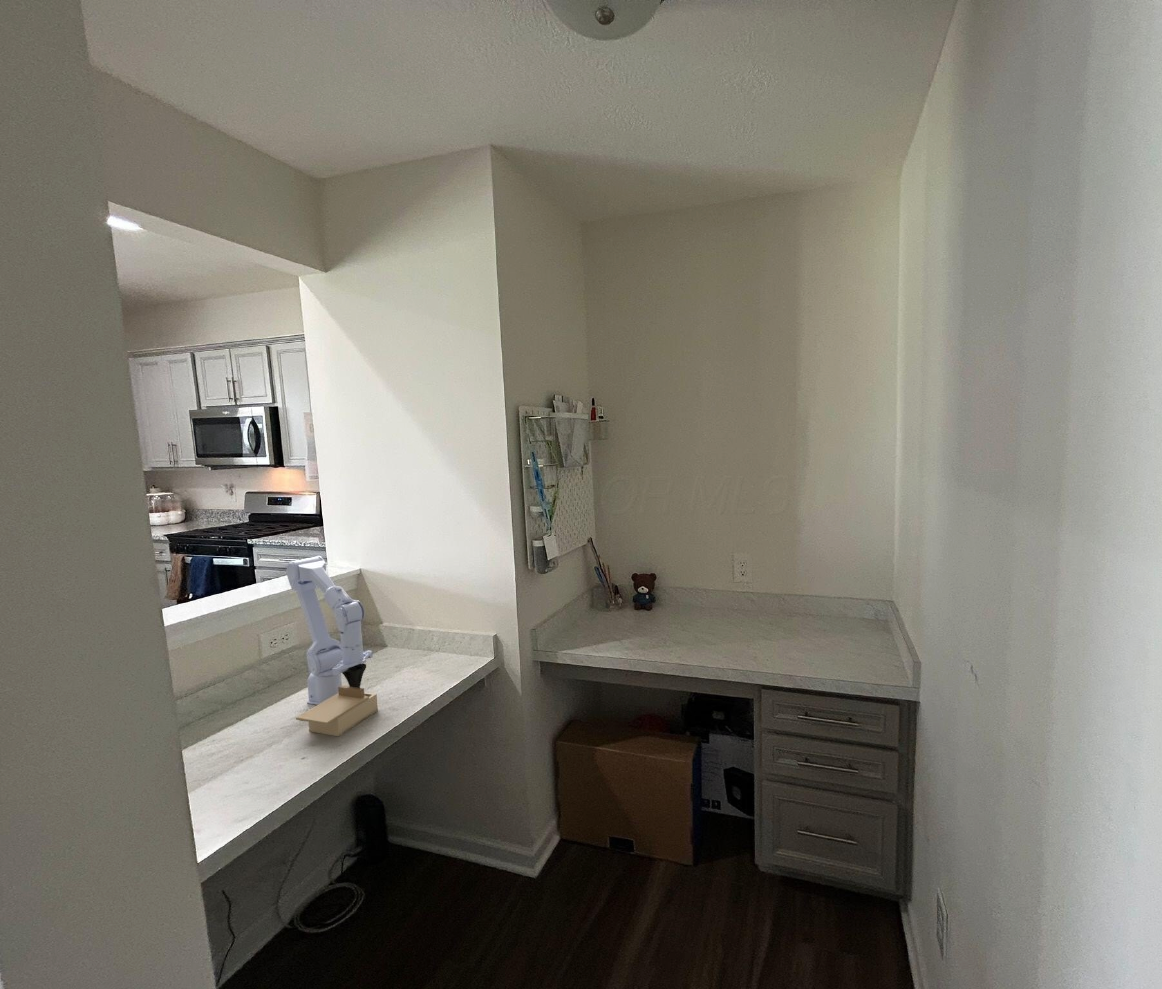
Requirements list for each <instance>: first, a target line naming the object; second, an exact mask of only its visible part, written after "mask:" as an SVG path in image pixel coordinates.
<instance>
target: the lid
mask: <svg viewBox="0 0 1162 989" xmlns="http://www.w3.org/2000/svg"><path fill="white" fill-rule="evenodd" d="M338 692H339V693H337V694H335V695H334V696H332V697H330V698H328V699H327V700H325V701H323V702H322V703H320V704H318V705H315V706H313V707H311V708H310V709H308V710H306V711H305V712H302V713H301V714H299V715H297V716H296V717H295V720H296V721H302V722H308V723H309V722H314V723H320V724H326V725H328V724H329V723H331V722H332V721H334V720H336V719H337V718H339V717H340V716H342V715H344V714H345V713H347V712H348V711H350V710H351V709H353V708H355V707H356V706H358V705H359V704H361V703H363V702H364V701H366V700H367V699H369V696H364V692H365V689H364V688H362V687H360V688H357V687H350V686H349V685H348V686H347V685H343V684H342V685H341V686H339V687H338Z"/></svg>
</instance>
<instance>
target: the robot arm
mask: <svg viewBox="0 0 1162 989" xmlns="http://www.w3.org/2000/svg"><path fill="white" fill-rule="evenodd" d="M286 576H287V580H288V582H289V586H290V589H291V590H292V591H295V592H296V593H297V598H298V600H299V603H300V606H301V610H302V614H303V616H304V619H305V623H306V625H307V628H308V632H309V636H310V637H311V638H310V639H311V641H312V644H311V645H310V647H309V648H308V649H307V651H306V655H305V656H306V659H307V662H306V663H307V668H308V671H309V672H310V673H309V676H308V678H307V682H306V683H307V684H306V685H307V695H308V700H307V701H306V703H307V704H311V705H315V706H316V705H318V704H320V703H322V702H323V701H325V700H327V699H328V698H330V697H332V696H334V695H335V694H337V693H339V692H338V687H339V686H341V685H342V686H343V680H342V675H343V676H344V678H345V679H346V681H347V683H348V686H350V687H357V688H361V685H362V681H363V680H362V679H363V676H364V673H365V670H366V669H367V660H368V659H372V658H373V650H365V651H364V644H363V633H362V632H363V631H362V621H363V620H364V618H365V608H364V605H363V604H362V603H361V601H360V600H357V599H353V598H352V597H351V596H350V595H348V593H347V592H346V591H345V589H344V588H343V587H342V586H340V585H335V583H334V581H333V580H332V579H331V577H330V575H329V574H328V572H327V565H326V561H325V560H324V558H323V557H322V556H320V555H316V556H314V557H313V556H311V557H307V558H303V559H298V560H290V561H289V562H288V563H287V565H286ZM316 587H317V588H318V589H319V590H320V591H321V592H323V593H324V595H323V599H324V600H323V601H325V602H326V604H327V605H328V606H329V607H330V609H331V610H332V611H333V612H334V614H333V615H334V620H335V622H336V626H337V629H338V631H339V634H340V635H339V636H340V637H339V638H340V641H339V640H338V639H335V638H332V637H331V636H330V633H329V629H328V626H327V623H326V620H325V617H324V614H323V611H322V608H321V605H320V602H319V601H320V600H319V597H318V596H317V593H316Z"/></svg>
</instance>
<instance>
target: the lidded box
mask: <svg viewBox="0 0 1162 989" xmlns="http://www.w3.org/2000/svg"><path fill="white" fill-rule="evenodd" d="M377 694H378V693H375V692H366V691H364V696H369V699H367V700H366V701H364V702H363V703H361V704H359V705H358V706H356V707H355V708H353V709H351V710H350V711H348V712H347V713H345V714H344V715H342V716H340V717H339V718H337V719H336V720H334V721H332V722H331V723H329V724H328V725H326V724H320V723H314V722H308V730H309V731H308V732H311V733H317V734H322V735H323V734H324V735H329V736H335V737H340V736H342V735H343V734H345V733H346V732H348V731H349V730H351V729H352V728H354V727H356V726H357V725H359V724H360V723H362V722H363V721H365V720H366V719H367V718H369V717H370V716H372V715H374V713H376V712H378V708H379V707H378V706H379V705H378V695H377Z"/></svg>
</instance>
